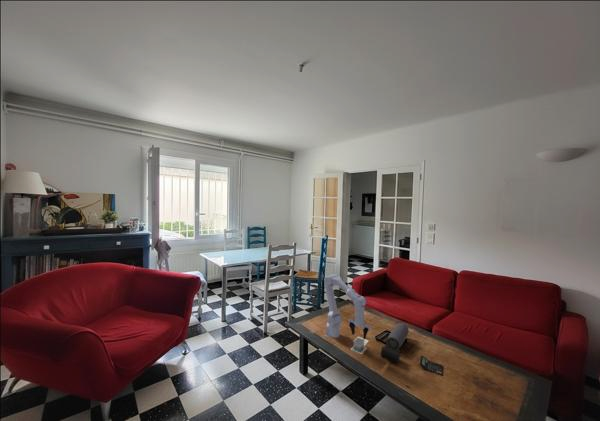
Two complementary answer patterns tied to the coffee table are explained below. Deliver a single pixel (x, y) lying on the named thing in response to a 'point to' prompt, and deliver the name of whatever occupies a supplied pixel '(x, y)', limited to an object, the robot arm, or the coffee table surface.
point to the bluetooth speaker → (397, 336)
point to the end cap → (390, 354)
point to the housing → (358, 344)
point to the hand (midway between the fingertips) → (358, 336)
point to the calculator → (431, 366)
